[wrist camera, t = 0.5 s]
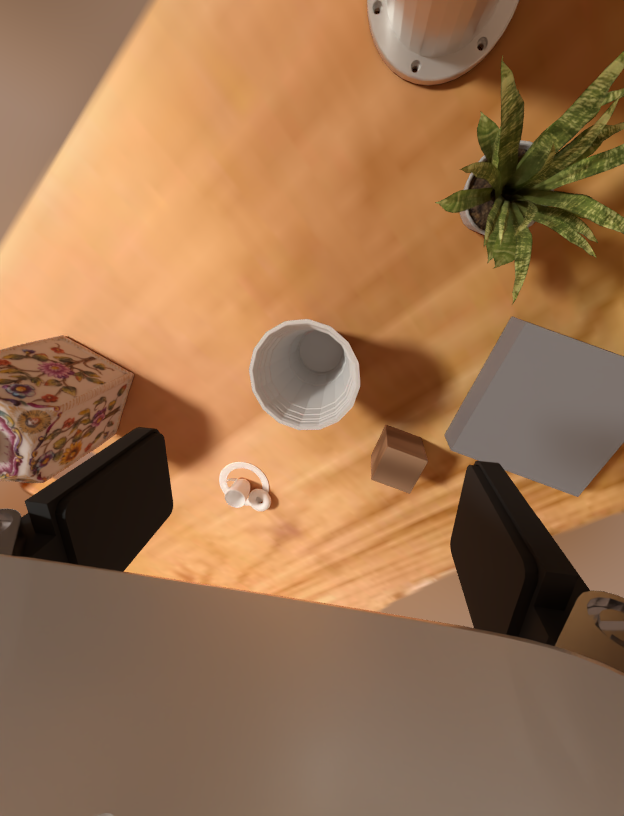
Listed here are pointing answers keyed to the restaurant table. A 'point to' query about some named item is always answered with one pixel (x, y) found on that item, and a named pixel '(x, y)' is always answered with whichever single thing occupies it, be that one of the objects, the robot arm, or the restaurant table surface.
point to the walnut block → (398, 459)
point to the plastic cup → (304, 374)
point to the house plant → (539, 174)
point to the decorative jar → (55, 406)
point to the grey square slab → (543, 408)
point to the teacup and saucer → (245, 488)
